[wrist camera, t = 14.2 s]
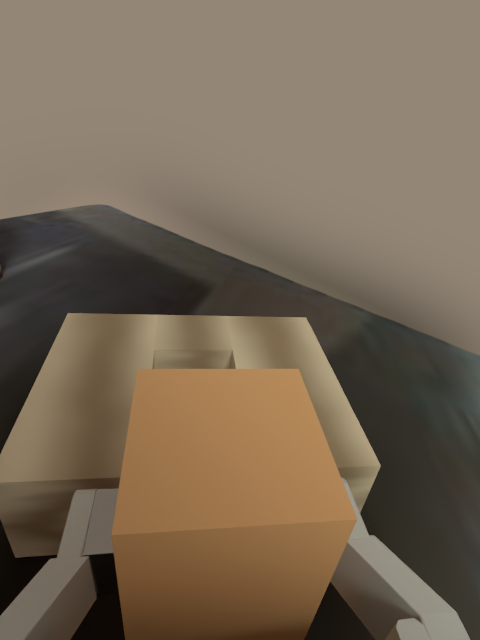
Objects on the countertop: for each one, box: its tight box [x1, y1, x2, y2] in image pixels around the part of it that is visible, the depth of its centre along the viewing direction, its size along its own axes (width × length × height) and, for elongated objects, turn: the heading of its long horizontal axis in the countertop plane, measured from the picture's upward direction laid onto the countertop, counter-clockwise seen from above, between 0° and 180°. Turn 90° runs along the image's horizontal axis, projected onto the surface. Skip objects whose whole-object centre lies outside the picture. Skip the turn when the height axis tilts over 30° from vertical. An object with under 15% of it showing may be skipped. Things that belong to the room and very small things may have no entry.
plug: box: [111, 369, 357, 640], centre depth 12 cm, size 4×4×14 cm
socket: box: [0, 313, 381, 558], centre depth 25 cm, size 18×14×6 cm
